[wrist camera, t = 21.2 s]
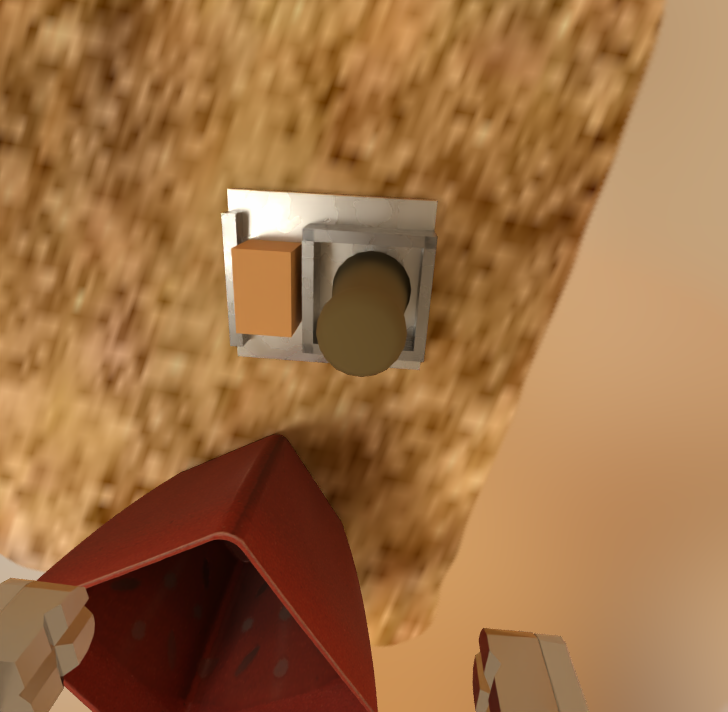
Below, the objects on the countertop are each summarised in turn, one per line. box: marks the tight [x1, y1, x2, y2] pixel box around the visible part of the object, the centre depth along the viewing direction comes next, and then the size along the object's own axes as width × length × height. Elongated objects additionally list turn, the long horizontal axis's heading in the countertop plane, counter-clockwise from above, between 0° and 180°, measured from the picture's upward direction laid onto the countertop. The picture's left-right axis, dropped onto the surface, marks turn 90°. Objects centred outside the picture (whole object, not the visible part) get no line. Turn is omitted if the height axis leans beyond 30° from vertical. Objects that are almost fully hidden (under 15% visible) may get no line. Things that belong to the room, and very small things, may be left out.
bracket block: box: [231, 239, 302, 337], centre depth 33 cm, size 4×6×4 cm, turn 177°
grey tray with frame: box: [221, 188, 438, 370], centre depth 34 cm, size 15×13×4 cm
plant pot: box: [37, 435, 378, 712], centre depth 38 cm, size 19×19×17 cm
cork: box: [316, 251, 411, 377], centre depth 30 cm, size 6×6×11 cm
